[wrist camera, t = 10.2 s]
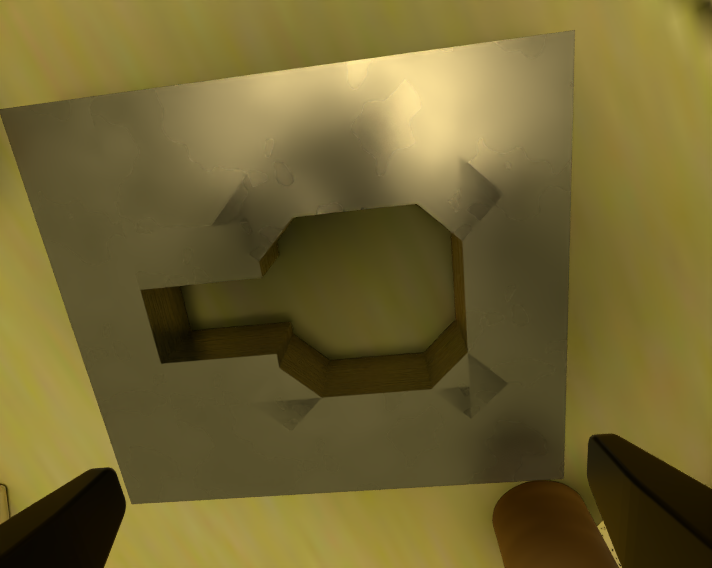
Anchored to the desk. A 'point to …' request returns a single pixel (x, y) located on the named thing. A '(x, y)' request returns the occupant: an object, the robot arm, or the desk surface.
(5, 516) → the syrup box
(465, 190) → the keyhole plate
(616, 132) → the desk surface
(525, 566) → the walnut peg
